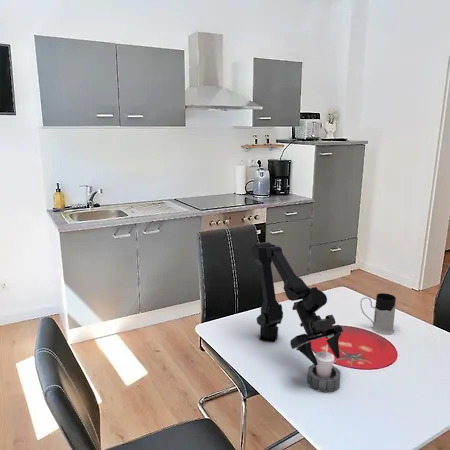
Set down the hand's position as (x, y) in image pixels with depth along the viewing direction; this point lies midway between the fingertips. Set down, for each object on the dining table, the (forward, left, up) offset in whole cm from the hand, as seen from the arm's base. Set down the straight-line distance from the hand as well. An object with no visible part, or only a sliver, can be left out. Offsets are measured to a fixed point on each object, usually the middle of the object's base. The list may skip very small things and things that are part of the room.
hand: (327, 361), depth 132 cm
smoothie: (-1, +1, -9) cm, 9 cm away
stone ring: (-1, +1, -9) cm, 9 cm away
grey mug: (+17, +47, -9) cm, 51 cm away
